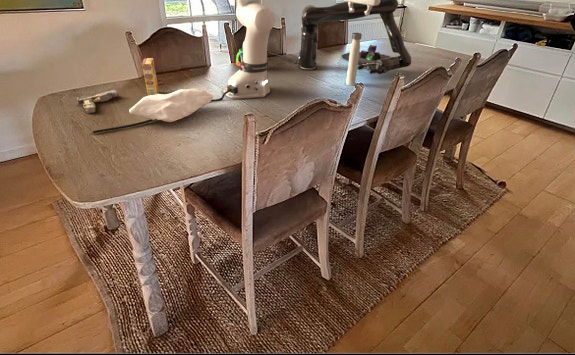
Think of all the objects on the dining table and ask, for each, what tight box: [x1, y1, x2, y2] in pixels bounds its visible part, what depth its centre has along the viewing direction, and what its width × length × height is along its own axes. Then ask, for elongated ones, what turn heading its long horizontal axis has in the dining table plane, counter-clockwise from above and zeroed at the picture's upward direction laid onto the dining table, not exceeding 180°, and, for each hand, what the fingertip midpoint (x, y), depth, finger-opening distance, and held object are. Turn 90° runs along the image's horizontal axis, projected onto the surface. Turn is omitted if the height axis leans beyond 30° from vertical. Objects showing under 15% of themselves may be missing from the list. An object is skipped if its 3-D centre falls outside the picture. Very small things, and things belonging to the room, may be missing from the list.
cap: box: [351, 32, 363, 40], centre depth 178 cm, size 4×5×2 cm
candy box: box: [141, 57, 160, 96], centre depth 163 cm, size 9×4×15 cm, turn 13°
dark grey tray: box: [341, 44, 391, 65], centre depth 232 cm, size 35×35×9 cm
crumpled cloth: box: [129, 88, 214, 123], centre depth 147 cm, size 24×35×9 cm
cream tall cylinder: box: [345, 39, 361, 87], centre depth 184 cm, size 5×5×25 cm
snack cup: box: [235, 47, 243, 63], centre depth 205 cm, size 16×10×10 cm
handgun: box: [76, 89, 120, 114], centre depth 155 cm, size 3×18×15 cm
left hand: (359, 13), depth 172 cm, fingers open, 8 cm apart
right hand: (364, 69), depth 192 cm, fingers open, 8 cm apart
